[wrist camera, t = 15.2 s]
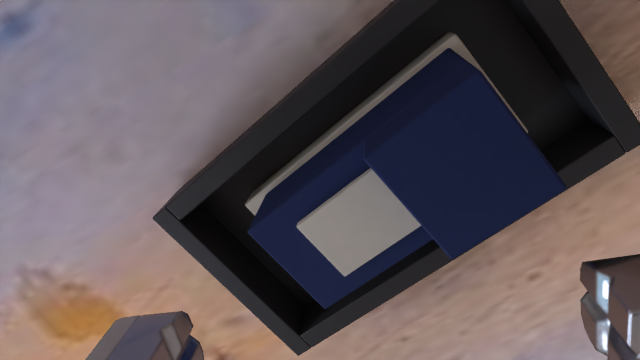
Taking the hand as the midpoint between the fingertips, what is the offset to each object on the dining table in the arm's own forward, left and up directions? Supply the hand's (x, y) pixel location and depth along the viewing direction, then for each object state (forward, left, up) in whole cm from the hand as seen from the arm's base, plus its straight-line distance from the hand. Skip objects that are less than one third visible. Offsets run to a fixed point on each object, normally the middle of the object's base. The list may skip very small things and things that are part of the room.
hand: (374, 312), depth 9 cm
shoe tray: (0, 0, -10) cm, 10 cm away
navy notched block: (0, 0, -9) cm, 9 cm away
